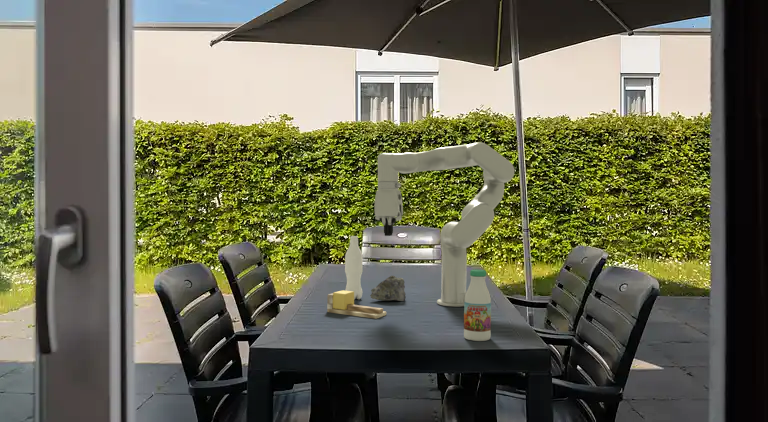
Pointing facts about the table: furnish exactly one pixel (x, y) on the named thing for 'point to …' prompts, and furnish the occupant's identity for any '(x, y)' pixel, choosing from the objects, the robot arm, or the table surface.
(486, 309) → the milk bottle
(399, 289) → the mineral rock
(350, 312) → the rail
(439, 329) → the table surface
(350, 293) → the block
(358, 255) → the white bottle
